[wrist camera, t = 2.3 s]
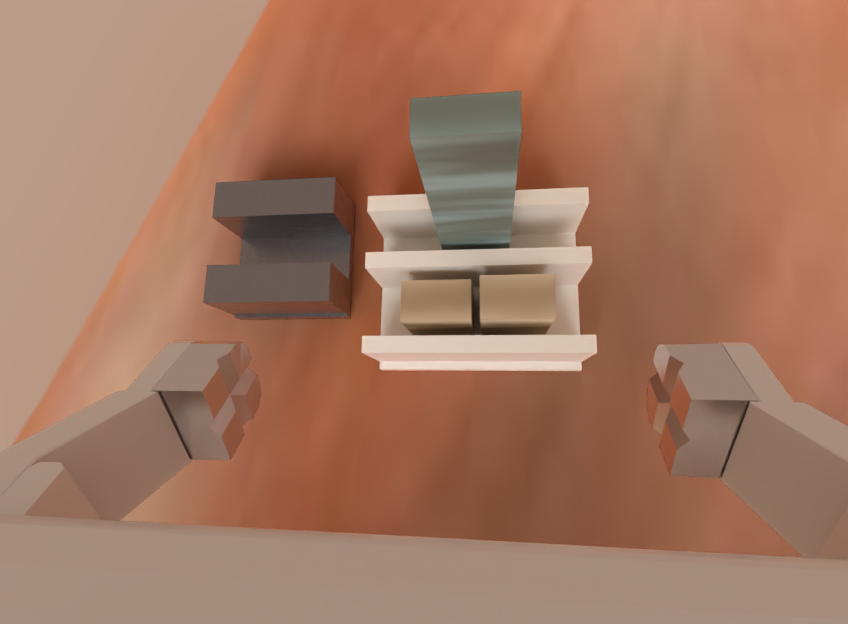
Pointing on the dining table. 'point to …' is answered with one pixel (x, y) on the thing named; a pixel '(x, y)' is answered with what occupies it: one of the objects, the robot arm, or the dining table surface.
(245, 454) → the dining table surface
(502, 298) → the pine offcut
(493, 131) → the teal board
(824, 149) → the dining table surface
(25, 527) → the robot arm
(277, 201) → the charcoal holder
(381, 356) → the white rack
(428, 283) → the birch offcut
